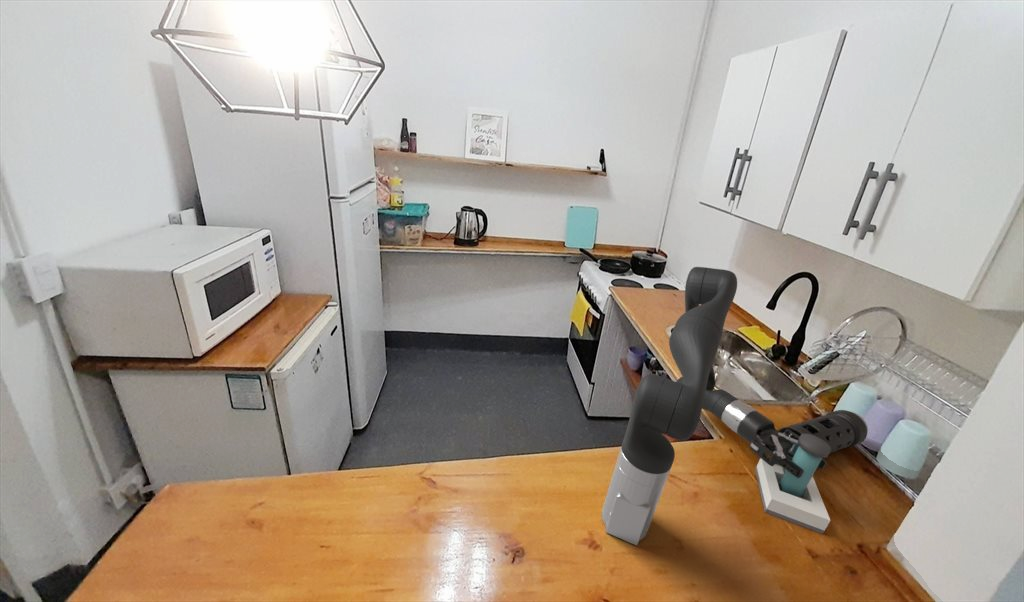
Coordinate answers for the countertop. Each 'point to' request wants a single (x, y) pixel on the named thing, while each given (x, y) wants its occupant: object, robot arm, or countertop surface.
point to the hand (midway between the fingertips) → (813, 470)
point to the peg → (804, 463)
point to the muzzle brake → (833, 429)
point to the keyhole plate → (791, 499)
